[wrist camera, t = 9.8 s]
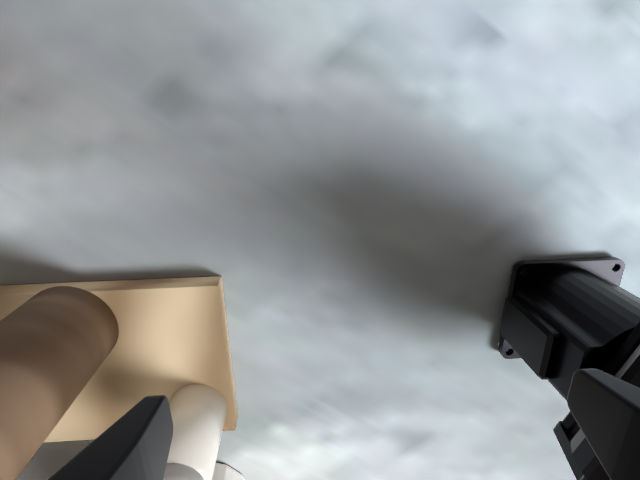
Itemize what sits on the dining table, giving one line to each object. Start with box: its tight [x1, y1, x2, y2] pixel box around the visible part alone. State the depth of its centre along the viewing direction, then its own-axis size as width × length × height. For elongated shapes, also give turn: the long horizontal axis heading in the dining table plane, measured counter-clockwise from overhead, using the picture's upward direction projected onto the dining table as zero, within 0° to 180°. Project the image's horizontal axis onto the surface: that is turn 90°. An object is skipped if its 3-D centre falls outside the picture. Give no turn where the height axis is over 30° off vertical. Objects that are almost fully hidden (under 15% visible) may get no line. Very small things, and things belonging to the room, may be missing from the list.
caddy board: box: [0, 276, 238, 443], centre depth 22 cm, size 12×10×1 cm
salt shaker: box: [163, 384, 227, 480], centre depth 20 cm, size 3×3×6 cm
